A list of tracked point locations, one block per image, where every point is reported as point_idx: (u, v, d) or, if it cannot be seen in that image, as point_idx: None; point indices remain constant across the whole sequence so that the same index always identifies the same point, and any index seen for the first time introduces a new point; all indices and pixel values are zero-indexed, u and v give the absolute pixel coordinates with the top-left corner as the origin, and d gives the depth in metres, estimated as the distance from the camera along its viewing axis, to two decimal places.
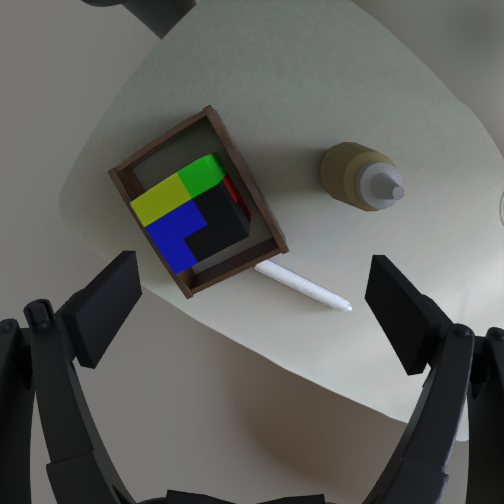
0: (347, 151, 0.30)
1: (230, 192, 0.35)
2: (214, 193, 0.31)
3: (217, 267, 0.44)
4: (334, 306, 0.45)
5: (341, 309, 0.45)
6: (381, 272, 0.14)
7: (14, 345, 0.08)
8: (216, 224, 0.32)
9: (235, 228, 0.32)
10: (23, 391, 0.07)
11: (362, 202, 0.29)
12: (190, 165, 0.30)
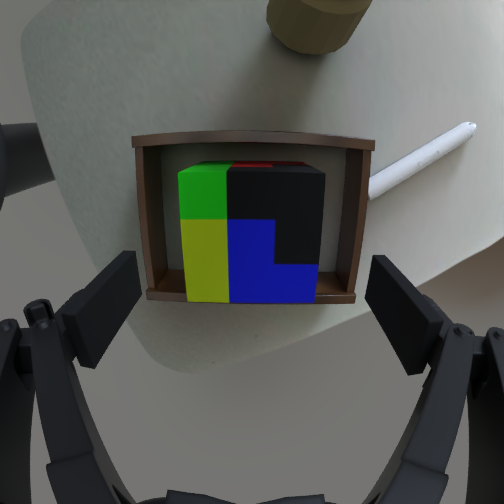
0: None
1: (254, 166, 0.23)
2: (237, 184, 0.20)
3: (342, 242, 0.30)
4: (464, 139, 0.25)
5: (470, 134, 0.24)
6: (381, 272, 0.14)
7: (14, 345, 0.08)
8: (283, 207, 0.20)
9: (303, 185, 0.19)
10: (23, 391, 0.07)
11: (354, 0, 0.12)
12: (181, 195, 0.20)
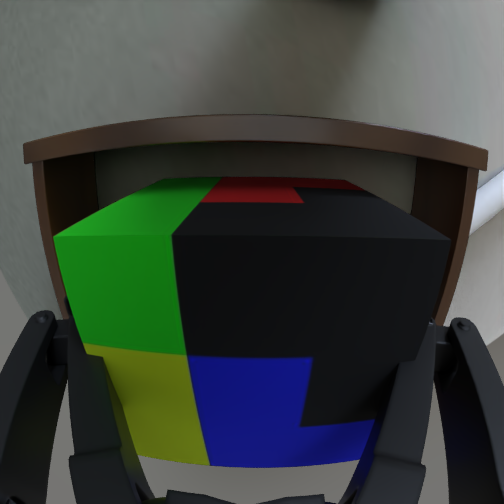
0: None
1: (259, 199, 0.10)
2: (206, 275, 0.07)
3: None
4: None
5: None
6: None
7: (48, 338, 0.08)
8: (336, 330, 0.07)
9: (397, 272, 0.06)
10: (53, 385, 0.08)
11: None
12: (70, 294, 0.07)
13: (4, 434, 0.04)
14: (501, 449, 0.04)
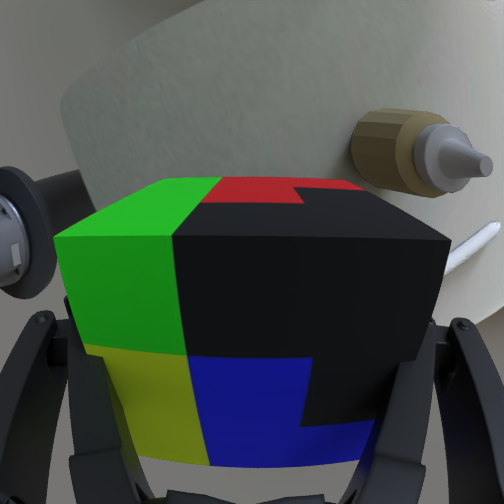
0: (375, 152, 0.21)
1: (259, 199, 0.10)
2: (207, 275, 0.07)
3: None
4: (488, 241, 0.30)
5: (495, 235, 0.29)
6: None
7: (48, 338, 0.08)
8: (336, 330, 0.07)
9: (398, 272, 0.06)
10: (53, 385, 0.08)
11: None
12: (70, 294, 0.07)
13: (4, 434, 0.04)
14: (501, 449, 0.04)
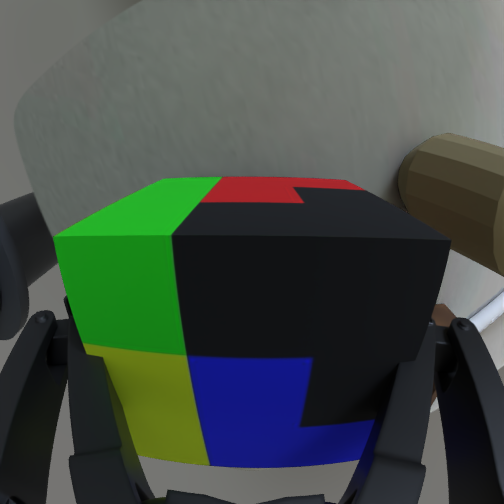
0: (455, 208, 0.12)
1: (259, 199, 0.10)
2: (206, 275, 0.07)
3: None
4: None
5: None
6: None
7: (48, 338, 0.08)
8: (336, 330, 0.07)
9: (397, 272, 0.06)
10: (53, 385, 0.08)
11: None
12: (70, 294, 0.07)
13: (4, 434, 0.04)
14: (501, 449, 0.04)
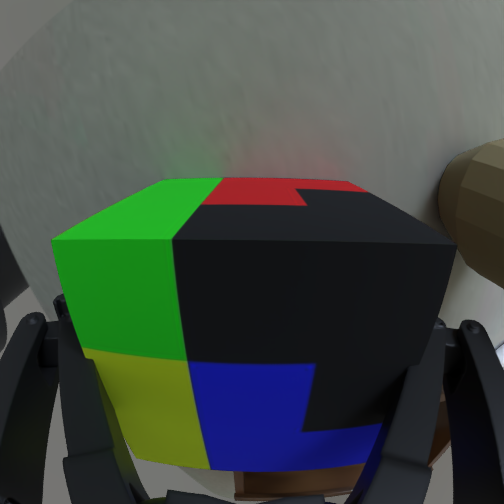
0: None
1: (261, 201, 0.10)
2: (207, 280, 0.06)
3: None
4: None
5: None
6: None
7: (39, 339, 0.08)
8: (340, 336, 0.07)
9: (403, 277, 0.06)
10: (45, 386, 0.08)
11: None
12: (68, 298, 0.07)
13: None
14: None
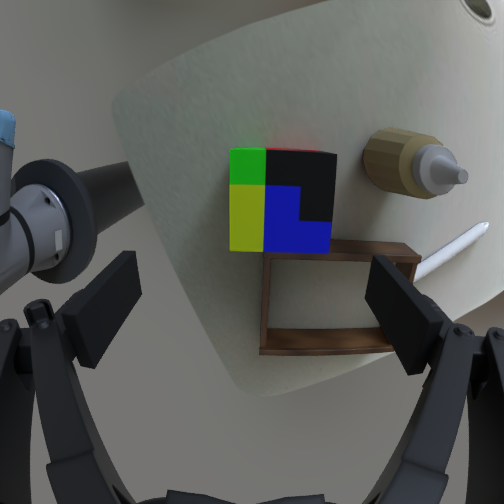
0: (384, 163, 0.27)
1: None
2: (273, 160, 0.26)
3: None
4: (477, 238, 0.36)
5: (483, 233, 0.36)
6: (381, 272, 0.14)
7: (14, 345, 0.08)
8: (306, 177, 0.27)
9: (321, 161, 0.26)
10: (23, 391, 0.07)
11: None
12: (231, 166, 0.27)
13: None
14: None
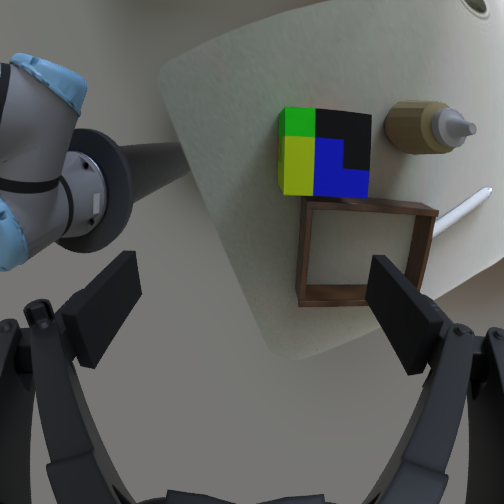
0: (407, 125, 0.30)
1: None
2: (321, 117, 0.29)
3: (410, 265, 0.45)
4: (483, 200, 0.40)
5: (488, 196, 0.39)
6: (381, 272, 0.14)
7: (14, 345, 0.08)
8: (348, 132, 0.30)
9: (359, 120, 0.29)
10: (23, 391, 0.07)
11: None
12: (286, 120, 0.30)
13: None
14: None
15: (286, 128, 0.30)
